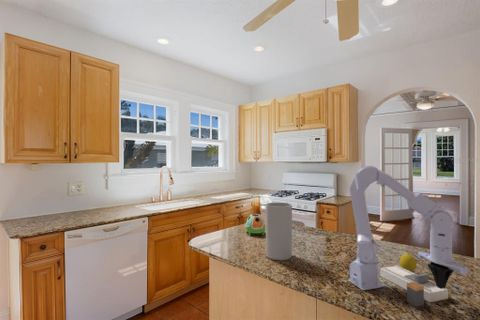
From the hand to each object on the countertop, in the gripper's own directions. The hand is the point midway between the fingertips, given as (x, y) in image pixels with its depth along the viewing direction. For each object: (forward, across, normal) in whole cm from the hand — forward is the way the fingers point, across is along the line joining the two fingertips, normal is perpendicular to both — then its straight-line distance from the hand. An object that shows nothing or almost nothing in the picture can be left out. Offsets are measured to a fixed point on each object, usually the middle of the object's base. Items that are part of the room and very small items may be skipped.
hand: (440, 287), depth 84 cm
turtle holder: (+5, +92, +32) cm, 98 cm away
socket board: (+5, +11, 0) cm, 12 cm away
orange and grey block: (+5, +2, +9) cm, 10 cm away
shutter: (+1, +9, 0) cm, 9 cm away
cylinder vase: (+5, +52, +34) cm, 62 cm away
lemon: (+5, +20, -9) cm, 22 cm away
